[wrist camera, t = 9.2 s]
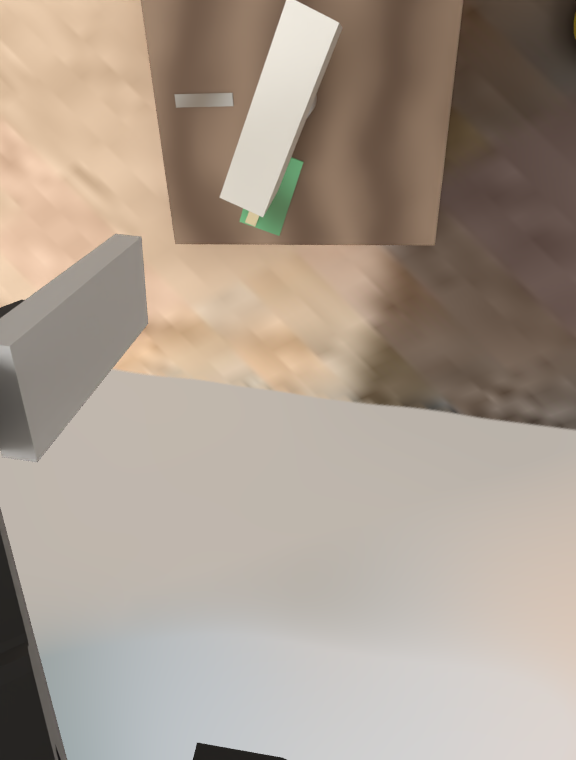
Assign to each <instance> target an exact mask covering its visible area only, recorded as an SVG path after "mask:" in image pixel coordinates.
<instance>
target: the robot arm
mask: <svg viewBox="0 0 576 760" xmlns="http://www.w3.org/2000/svg"><path fill="white" fill-rule="evenodd" d="M147 324H148V315H147V302H146V289H145V276H144V264H143V251H142V238H141V237H139V236H130V235H121V234H115V235H113V236H112V237H110V238H109V239H108V240H106V241H105V242H104V243H102V244H101V245H100V246H98V247H97V248H95V249H94V250H93V251H91V252H90V253H89V254H87V255H86V256H85V257H83V258H82V259H80V260H79V261H78V262H76V263H75V264H74V265H72V266H71V267H70V268H68V269H67V270H65V271H64V272H63V273H61V274H60V275H59V276H57V277H56V278H55V279H53V280H52V281H50V282H49V283H48V284H46V285H45V286H44V287H42V288H41V289H40V290H38V291H37V292H35V293H34V294H33V295H31V296H30V297H29V298H27V299H26V300H20V301H17V302H14V303H12V304H9V305H6V306H4V307H1V308H0V451H1V454H2V457H4V458H11V459H19V460H26V461H32V462H38V461H39V459H40V458H41V457H42V456H43V455H44V453H45V452H46V451H47V450H48V448H49V447H50V446H51V445H52V443H53V442H54V441H55V439H56V438H57V437H58V436H59V434H60V433H61V432H62V431H63V430H64V428H65V427H66V426H67V424H68V423H69V422H70V421H71V420H72V418H73V417H74V416H75V415H76V413H77V412H78V411H79V410H80V408H81V407H82V406H83V404H84V403H85V402H86V401H87V400H88V398H89V397H90V396H91V394H92V393H93V392H94V391H95V389H96V388H97V387H98V386H99V384H100V383H101V382H102V381H103V380H104V378H105V377H106V376H107V374H108V373H109V372H110V371H111V369H112V368H113V367H114V366H115V364H116V363H117V362H118V361H119V359H120V358H121V357H122V356H123V354H124V353H125V352H126V351H127V349H128V348H129V347H130V346H131V344H132V343H133V342H134V341H135V339H136V338H137V337H138V336H139V334H140V333H141V332H142V331H143V329H144V328H145V327H146V326H147ZM0 760H67V758H66V754H65V750H64V746H63V743H62V739H61V735H60V731H59V727H58V724H57V720H56V716H55V712H54V709H53V705H52V701H51V697H50V694H49V690H48V686H47V682H46V678H45V675H44V671H43V667H42V663H41V659H40V656H39V652H38V649H37V645H36V641H35V637H34V633H33V629H32V626H31V622H30V618H29V614H28V611H27V607H26V603H25V599H24V595H23V592H22V588H21V584H20V580H19V577H18V573H17V569H16V565H15V561H14V558H13V554H12V550H11V546H10V543H9V539H8V535H7V531H6V527H5V524H4V520H3V516H2V512H1V509H0ZM193 760H286V759H284V758H281V757H274V756H269V755H264V754H258V753H252V752H247V751H241V750H235V749H230V748H225V747H219V746H213V745H207V744H202V743H197V745H196V750H195V754H194V758H193Z"/></svg>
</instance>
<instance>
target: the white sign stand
mask: <svg viewBox="0 0 576 760" xmlns="http://www.w3.org/2000/svg"><path fill="white" fill-rule="evenodd" d="M341 30H342V26H341V25H340V23H339V22H337V21H335V20H333V19H331V18H329V17H327V16H325V15H323V14H321V13H319V12H318V11H316V10H314V9H312V8H310V7H308V6H306V5H304V4H302V3H300V2H298V1H296V0H286V2H285V5H284V8H283V11H282V14H281V17H280V20H279V23H278V26H277V29H276V32H275V35H274V38H273V41H272V44H271V47H270V50H269V53H268V56H267V58H266V61H265V64H264V67H263V70H262V73H261V76H260V79H259V82H258V85H257V88H256V91H255V94H254V97H253V100H252V103H251V106H250V109H249V112H248V115H247V118H246V121H245V124H244V127H243V129H242V132H241V135H240V138H239V141H238V144H237V147H236V150H235V153H234V156H233V159H232V162H231V165H230V168H229V171H228V174H227V177H226V180H225V183H224V186H223V189H222V192H221V195H220V197H219V198H221V199H224V200H226V201H228V202H230V203H232V204H235V205H237V206H239V207H241V208H243V209H246V210H248V211H249V213H248V216H247V218H246V221H245V222H246V223H248V224H250V225H252V226H254V227H255V226H256V224H257V221H258V218H259V216H261V217H263V216H264V215H265V213H266V211H267V209H268V208H269V206H270V204H271V202H272V201H273V199H274V197H275V195H276V194H277V192H278V189H279V187H280V184H281V182H282V179H283V177H284V174H285V172H286V169H287V167H288V164H289V162H290V159H291V157H292V154H293V152H294V149H295V146H296V144H297V141H298V139H299V136H300V134H301V131H302V129H303V126H304V124H305V121H306V119H307V118H308V116H309V115H310V114H311V112H312V111H313V109H314V108H315V105H316V101H317V94H316V93H317V91H318V88H319V86H320V83H321V81H322V78H323V76H324V73H325V71H326V68H327V66H328V63H329V61H330V58H331V56H332V53H333V51H334V48H335V46H336V43H337V40H338V38H339V35H340V33H341Z"/></svg>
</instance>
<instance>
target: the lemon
mask: <svg viewBox="0 0 576 760" xmlns="http://www.w3.org/2000/svg"><path fill="white" fill-rule="evenodd" d="M574 36H575V39H576V13H575V17H574Z"/></svg>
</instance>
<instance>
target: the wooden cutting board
mask: <svg viewBox="0 0 576 760" xmlns="http://www.w3.org/2000/svg"><path fill="white" fill-rule="evenodd" d="M296 1H298V2H300V3H302V4H304V5H306V6H308V7H310V8H312V9H314V10H316V11H318V12H319V13H321V14H323V15H325V16H327V17H329V18H331V19H333V20H335V21H337V22H339V23H340V25H341V26H342V30H341V33H340V35H339V38H338V40H337V43H336V46H335V48H334V51H333V53H332V56H331V58H330V61H329V63H328V66H327V68H326V71H325V73H324V76H323V78H322V81H321V83H320V86H319V88H318V91H317V93H316V94H317V101H316V105H315V108H314V109H313V111H312V112H311V114H310V115H309V116H308V118H307V119H306V121H305V124H304V126H303V129H302V131H301V134H300V136H299V139H298V141H297V144H296V146H295V149H294V152H293V154H292V157H291V159H290V162H289V164H288V167H287V169H286V172H285V174H284V177H283V179H282V182H281V184H280V187H279V189H278V192H277V194H276V195H275V197H274V199H273V201H272V202H271V204H270V206H269V208H268V209H267V211H266V213H265V215H264V216H263V217H261V216H259V218H258V221H257V224H256V226H255V227H254V226H252V225H250V224H248V223H246V222H245V221H246V218H247V216H248V213H249V211H248V210H246V209H243V208H241V207H239V206H237V205H235V204H232V203H230V202H228V201H226V200H224V199H221V198H219V197H220V195H221V192H222V189H223V186H224V183H225V180H226V177H227V174H228V171H229V168H230V165H231V162H232V159H233V156H234V153H235V150H236V147H237V144H238V141H239V138H240V135H241V132H242V129H243V127H244V124H245V121H246V118H247V115H248V112H249V109H250V106H251V103H252V100H253V97H254V94H255V91H256V88H257V85H258V82H259V79H260V76H261V73H262V70H263V67H264V64H265V61H266V58H267V56H268V53H269V50H270V47H271V44H272V41H273V38H274V35H275V32H276V29H277V26H278V23H279V20H280V17H281V14H282V11H283V8H284V5H285V2H286V0H141V5H142V12H143V19H144V26H145V33H146V40H147V47H148V54H149V61H150V68H151V76H152V83H153V90H154V97H155V104H156V111H157V118H158V125H159V132H160V139H161V146H162V153H163V160H164V167H165V174H166V181H167V188H168V195H169V202H170V209H171V216H172V224H173V231H174V238H175V244H278V245H435V238H436V229H437V221H438V212H439V204H440V195H441V187H442V178H443V170H444V161H445V152H446V144H447V135H448V127H449V118H450V110H451V101H452V93H453V84H454V76H455V67H456V58H457V50H458V41H459V33H460V24H461V16H462V7H463V0H296Z"/></svg>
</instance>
